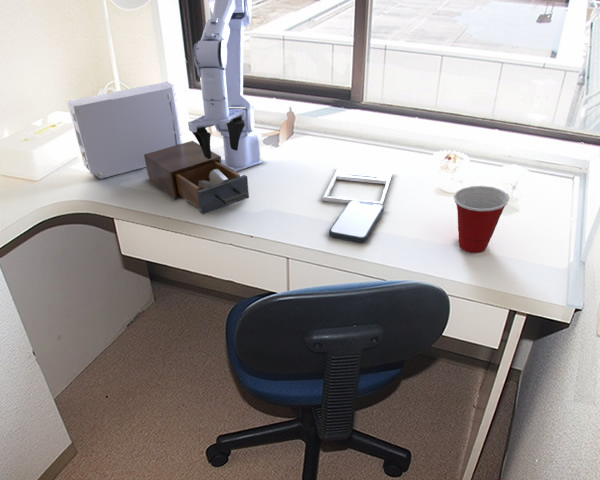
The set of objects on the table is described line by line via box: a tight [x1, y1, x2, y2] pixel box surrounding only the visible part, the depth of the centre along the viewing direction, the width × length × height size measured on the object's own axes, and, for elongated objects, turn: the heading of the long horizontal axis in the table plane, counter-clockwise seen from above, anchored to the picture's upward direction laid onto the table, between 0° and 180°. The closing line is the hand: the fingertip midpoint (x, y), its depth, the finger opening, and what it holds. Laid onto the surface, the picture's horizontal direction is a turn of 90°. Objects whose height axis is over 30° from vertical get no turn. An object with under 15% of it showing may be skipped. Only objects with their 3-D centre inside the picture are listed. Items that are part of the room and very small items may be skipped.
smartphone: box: [328, 200, 385, 244], centre depth 127 cm, size 9×2×16 cm
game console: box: [66, 81, 183, 179], centre depth 150 cm, size 6×27×20 cm, turn 124°
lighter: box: [199, 169, 229, 188], centre depth 135 cm, size 7×2×8 cm
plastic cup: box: [453, 185, 510, 254], centre depth 116 cm, size 11×11×12 cm
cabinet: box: [144, 140, 222, 200], centre depth 145 cm, size 14×14×7 cm
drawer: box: [174, 161, 250, 215], centre depth 135 cm, size 18×13×6 cm
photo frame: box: [322, 167, 393, 206], centre depth 142 cm, size 15×1×18 cm
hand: (221, 153), depth 136 cm, fingers open, 7 cm apart
